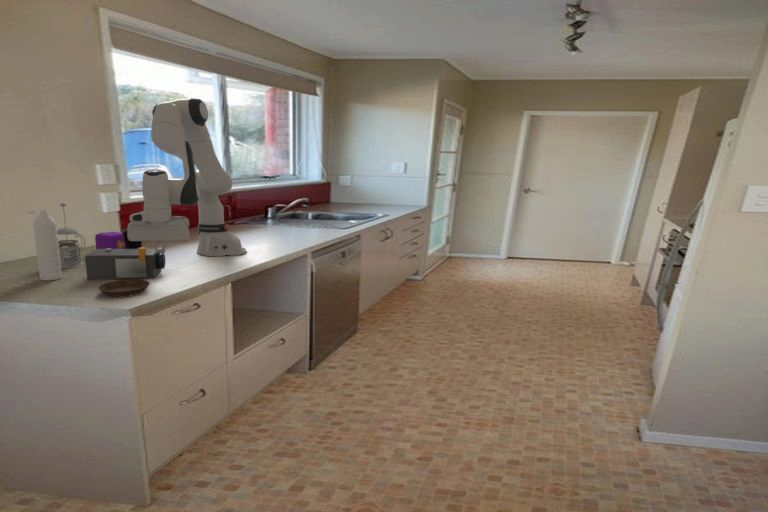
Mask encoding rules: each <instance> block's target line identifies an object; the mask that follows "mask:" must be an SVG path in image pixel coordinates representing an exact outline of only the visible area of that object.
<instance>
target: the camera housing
mask: <svg viewBox="0 0 768 512" xmlns="http://www.w3.org/2000/svg"><path fill="white" fill-rule="evenodd" d="M116 258H139V253H138V249H111V248H107V249H96V248H95V250H93V251H91V252H89V253H87V254H85V255H84V260H85V271H86V279H87V281H96V280H97V279H107V280H151V279H152V280H154V279H155V278H156V277H157V276H158V275H159V274H160V273H161V272H162V270H163V269H165V266H166V254H165V253H155V248H146V264H147V277H129V278H117V276H116V265H115V259H116ZM95 279H96V280H95Z"/></svg>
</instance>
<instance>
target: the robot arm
mask: <svg viewBox="0 0 768 512" xmlns="http://www.w3.org/2000/svg"><path fill="white" fill-rule="evenodd" d="M151 111H152V112H151V113H152V115H151V116H152V121H151V129H150V130H151V131H150V136H151V141H152V143H153V144H154V145H155V147H157V149H159V150H160V151H162V152H163V153H166V154H168V155H172V156H174V157H176V158H178V159H179V160H181V161H182V168H183V174H184V177H183V178H169V177H168V173H167V171H166V170H162V169H147V170H145V171H143V174H142V183H141V184H142V187H141V188H142V189H141V190H142V197H143V201H144V203H143V211H142V210H141V211H138V212H136V213H132V214H130V215H129V216H128V217H129V218H128V219H129V221H130V222H129V223H128V224H127V228H128V230H127V237H128V239H129V240H130V241H142V242H150V243H151V245H152V247H153V249H155V253H164V254H165V253H166V247H167V246H168V244H169V242H187V241H188V240H189V239H190V238H191V237H190V236H191V235H190V231H189V227H190V219H189V218H188V217H186V216H184V215H172V206H171V205H181V206H191V207H192V206H194V205H195V204H196V203H197V210H198V225H197V233H198V244H197V245H198V246H197V249H196V253H197V254H198V255H201V256H202V255H203V256H206V257H226V256H225V255H231V256H242V255H241V254H243V255H245V254H246V253H247V248H246V247H243V245H242V242H241V239H240V238H239V237H238V236H236V235H235V234H234V233H232V232H231V231H229V230H230V229H229V228H230V226H229V225H230V224H228V223H225V215H224V212H225V210H224V208H225V207H224V205H223V204H222V203H221V201H220V198H219V196H220V195H221V196H222V195H225V194H228V193H229V192H230V191H231V190H232V188H233V179H232V178H231V176H230V175H229V174H228V173H227V172H226V171H225V170H224V167H223V166H222V164H221V162H220V161H219V158H218V157H217V154H216V152H215V148H214V145H213V141H212V138H211V135H210V132H209V129H208V127H207V125H206V123H207V121H208V119H209V110H208V108H207V105H206V103H205V102H204V101H203V100H201V99H200V98H192V97H190V98H180V99H179V98H178V99H175V100H170V101H166V102H165V101H164V102H160V103H157V104H155V105H154V107H153V109H152V110H151ZM196 169H197V170H196ZM158 242H162V245H163V246H162V247H159V246H158V245H157V244H158ZM245 252H246V253H245ZM244 253H245V254H244Z"/></svg>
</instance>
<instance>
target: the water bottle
mask: <svg viewBox="0 0 768 512" xmlns="http://www.w3.org/2000/svg"><path fill="white" fill-rule="evenodd" d="M26 214H27V215H35V214H37V210H36V209H35V210H33V209H29V210H26ZM32 228H33V233H34V240H35V249H36V257H37V258H36V259H37V265H38V272H39V273H38V275H39V280H41V281H48V282H49V281H55V280H59V279H61V278H63V271H62V268H61V262H60V256H59V254H60V253H59V245H60V244H58V241H59V239H58V237H59V236H58V234H57V230H58V228H57V223H56V220H54V218H53V217H52V216H51V215H50V214H49V211H48V209H43V208H42V209H39V210H38V215H37V216H36V218H35V219H34V220H33V223H32Z"/></svg>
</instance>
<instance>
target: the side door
mask: <svg viewBox="0 0 768 512" xmlns="http://www.w3.org/2000/svg"><path fill="white" fill-rule="evenodd" d="M146 249H147V247H142V248H138V253H139V258H116V259H115V265H116V276H117V278H129V277H147V264H146Z"/></svg>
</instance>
